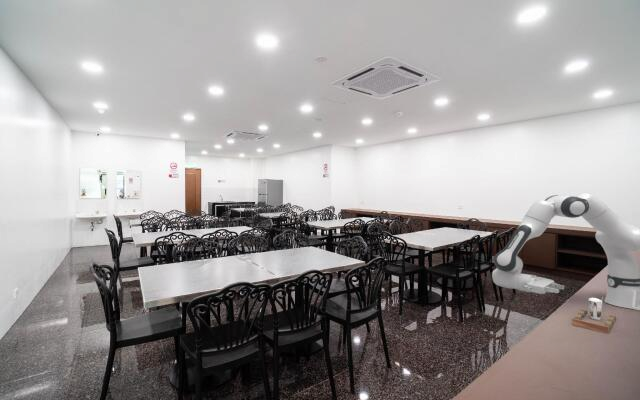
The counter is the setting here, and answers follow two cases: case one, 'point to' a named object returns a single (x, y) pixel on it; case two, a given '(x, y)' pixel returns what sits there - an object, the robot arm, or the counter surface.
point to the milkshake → (595, 308)
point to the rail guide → (593, 326)
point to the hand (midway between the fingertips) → (561, 289)
